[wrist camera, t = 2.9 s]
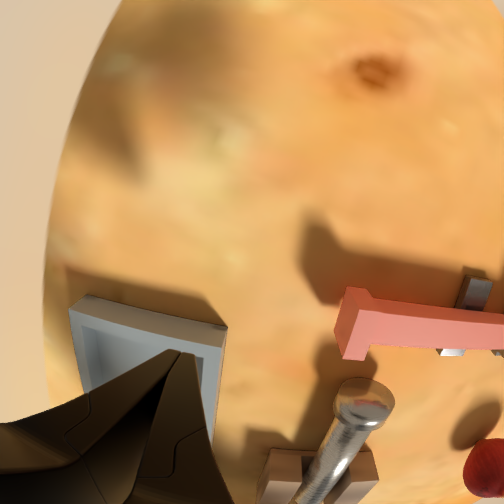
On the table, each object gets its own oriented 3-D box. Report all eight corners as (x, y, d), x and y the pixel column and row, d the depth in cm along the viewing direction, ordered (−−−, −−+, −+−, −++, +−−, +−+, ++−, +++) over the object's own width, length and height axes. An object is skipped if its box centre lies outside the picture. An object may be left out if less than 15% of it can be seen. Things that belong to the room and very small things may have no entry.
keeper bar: (527, 342, 14) (545, 358, 11) (333, 330, 14) (342, 358, 12) (541, 312, 13) (560, 327, 11) (346, 285, 13) (359, 309, 11)
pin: (326, 480, 19) (329, 511, 16) (287, 479, 20) (287, 511, 16) (385, 378, 16) (402, 416, 13) (334, 375, 16) (344, 416, 13)
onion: (470, 461, 19) (493, 512, 11) (442, 459, 19) (466, 520, 11) (508, 423, 17) (539, 474, 10) (485, 418, 17) (520, 479, 9)
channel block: (345, 486, 20) (348, 512, 17) (257, 483, 20) (255, 510, 17) (372, 451, 18) (379, 480, 15) (271, 448, 18) (269, 480, 15)
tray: (208, 480, 20) (204, 498, 19) (117, 455, 21) (109, 470, 19) (227, 326, 16) (221, 347, 14) (86, 294, 16) (68, 308, 14)
